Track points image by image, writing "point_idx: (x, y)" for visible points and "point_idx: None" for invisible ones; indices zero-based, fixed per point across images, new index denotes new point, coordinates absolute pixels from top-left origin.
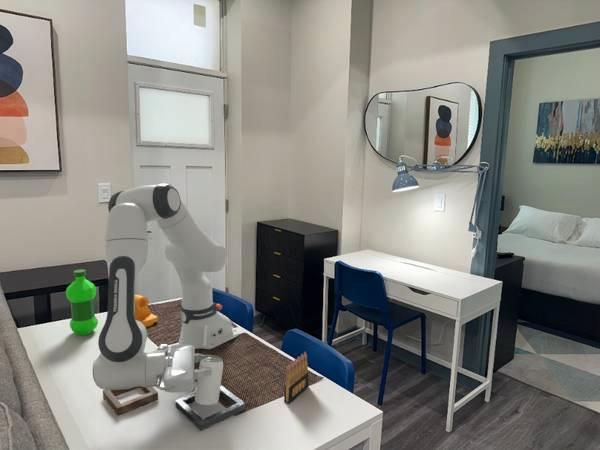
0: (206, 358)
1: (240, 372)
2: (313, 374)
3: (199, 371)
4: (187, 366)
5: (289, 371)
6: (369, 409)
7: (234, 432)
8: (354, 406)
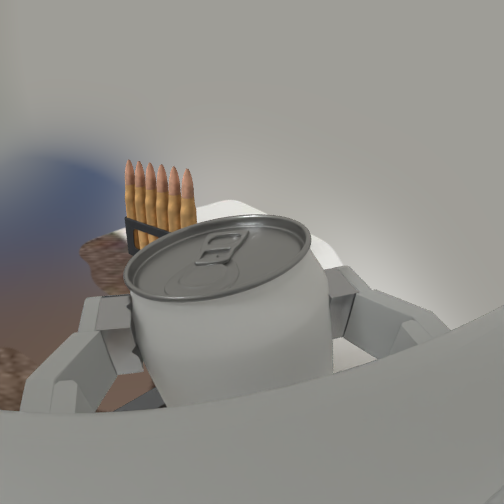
0: (211, 282)
1: (7, 369)
2: (92, 241)
3: (420, 308)
4: (464, 383)
5: (193, 189)
6: (224, 201)
7: (349, 366)
8: (215, 209)
